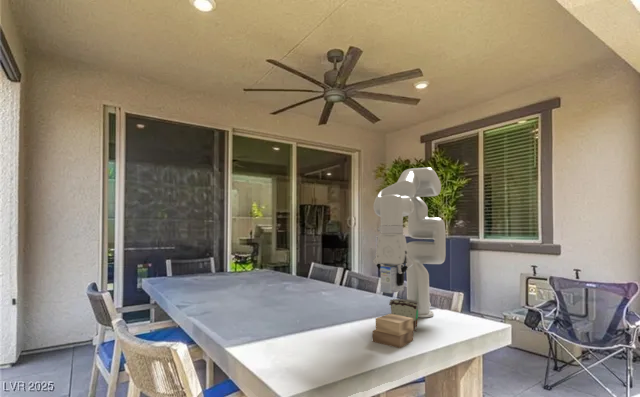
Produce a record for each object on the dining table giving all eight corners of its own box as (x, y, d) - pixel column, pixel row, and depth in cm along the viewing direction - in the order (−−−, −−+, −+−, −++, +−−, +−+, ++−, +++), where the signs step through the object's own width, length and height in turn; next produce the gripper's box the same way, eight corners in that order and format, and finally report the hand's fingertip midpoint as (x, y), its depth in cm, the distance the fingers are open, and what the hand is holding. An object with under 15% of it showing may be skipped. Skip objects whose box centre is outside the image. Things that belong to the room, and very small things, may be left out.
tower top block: (390, 325, 127) (390, 313, 127) (413, 330, 120) (413, 318, 121) (375, 330, 120) (375, 318, 121) (399, 336, 114) (398, 323, 114)
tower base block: (386, 336, 127) (386, 324, 128) (413, 341, 121) (413, 329, 121) (372, 343, 120) (372, 330, 120) (400, 349, 113) (399, 336, 114)
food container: (426, 329, 134) (426, 301, 135) (418, 332, 130) (418, 304, 131) (397, 323, 143) (397, 297, 144) (389, 326, 138) (389, 299, 139)
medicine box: (393, 289, 126) (393, 264, 127) (404, 290, 123) (404, 265, 124) (380, 292, 121) (379, 265, 121) (391, 293, 117) (391, 266, 118)
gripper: (364, 230, 126) (365, 283, 124) (410, 231, 115) (411, 288, 114) (375, 230, 132) (376, 280, 130) (419, 230, 121) (421, 285, 120)
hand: (392, 283), depth 122 cm, fingers closed on medicine box, 4 cm apart
